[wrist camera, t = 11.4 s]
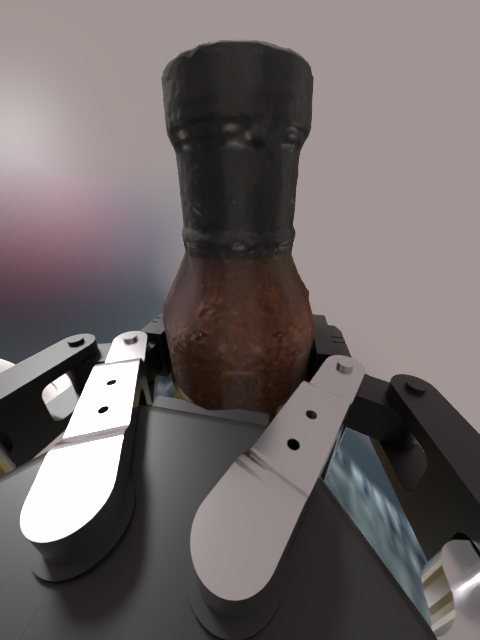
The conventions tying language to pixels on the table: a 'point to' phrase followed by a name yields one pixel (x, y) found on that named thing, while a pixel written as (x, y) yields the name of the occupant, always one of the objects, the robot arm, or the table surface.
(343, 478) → the table surface
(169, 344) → the sauce bottle
